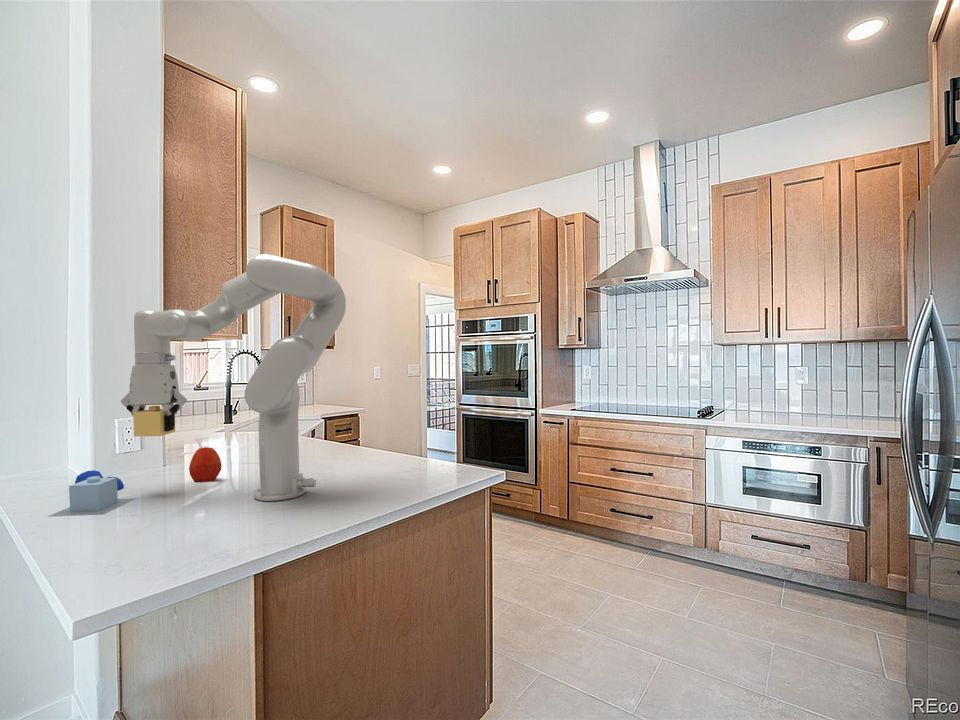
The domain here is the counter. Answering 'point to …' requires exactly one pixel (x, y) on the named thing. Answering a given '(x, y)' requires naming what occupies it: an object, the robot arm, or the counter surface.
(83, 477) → the toy
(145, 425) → the ochre brick
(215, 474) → the apple
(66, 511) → the baseplate
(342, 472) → the counter surface
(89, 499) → the blue brick
